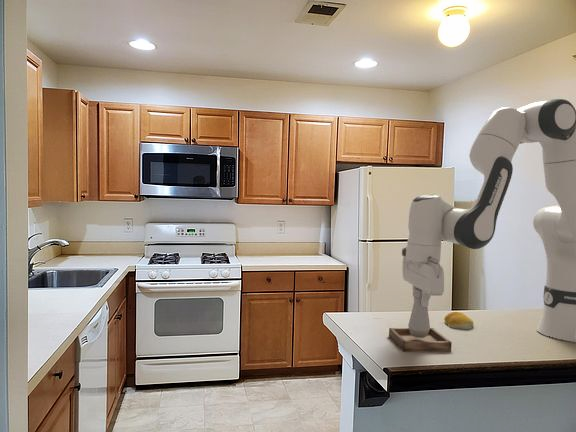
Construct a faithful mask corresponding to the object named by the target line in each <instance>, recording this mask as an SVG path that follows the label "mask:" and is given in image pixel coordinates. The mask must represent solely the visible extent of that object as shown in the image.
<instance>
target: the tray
mask: <svg viewBox="0 0 576 432" xmlns="http://www.w3.org/2000/svg"><path fill="white" fill-rule="evenodd" d="M388 338H390V339H391V340H392V341H393V342H394V343H395V344H396V345H397V346H398V347H399V348H400V350H402V351H403V352H452V343H453V342H452V341H451V340H449V339H448V338H447V337H446V336H444V335H443V334H442V333H440V332H439V331H437V330H436V329H435V328H433V327H430V331H429V333H428V335H427V336H426V337H424V338H419V337H414V336H412V335H411V333H410V331H409V327H389V330H388Z"/></svg>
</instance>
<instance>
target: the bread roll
mask: <svg viewBox="0 0 576 432" xmlns="http://www.w3.org/2000/svg"><path fill="white" fill-rule="evenodd" d="M443 319H444V322H445V324H446V325H447V326H448V327H449V328H453V329H458V330H470V329H472V328H473V327H474V321H473V319H472V318H471V317H468V316H467V315H466V314H465V313H463V312H460V311H451V312H449V313H448V314H446V315H445V316H444V318H443Z"/></svg>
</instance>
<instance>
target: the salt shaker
mask: <svg viewBox="0 0 576 432" xmlns="http://www.w3.org/2000/svg"><path fill="white" fill-rule="evenodd" d="M422 295H423V294H422V290H420V289H419V288H416V289H414V290H413V289H412V297H413V298H414V297H415V300H414V299H413V305H412V310H411V313H410V317H409V321H408V324H407V325H408V327H407V328H409V331H410V333H411V335H412V336H414V337H419V338H424V337H426V336H427V335H428V333H429V331H430V328H431V323H430V318H429V317H430V316H429V308H428V307H423V306H421V305H420V299H422Z"/></svg>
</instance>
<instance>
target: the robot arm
mask: <svg viewBox="0 0 576 432" xmlns="http://www.w3.org/2000/svg"><path fill="white" fill-rule="evenodd" d="M525 143H527V144H528V143H529V144H530V143H531V144H534V143H539V144H540V146H541V147H542V151H541V152H542V163H543V171H544V172H543V173H544V181H545V188H546V189H547V191H548V192H549V193H550V194H551V195H553V197H554V198H555V200H556V201H557V203H558V205H557V204H556V205H549V206H544V207H542V208H540V209H539V210H537V212H536V213H535V214H534V217H533V222H532V224H533V228H534V231H535V232H536V233H537V234H538V236H539V237H540V239H541V241H542V244H543V247H544V252H545V256H546V279H545V280H546V282H545V285H544V289H543V296H542V297H543V308H542V311H541V316H540V320H539V322H538V325H537V327H536V332H538V333H539V334H542V335H544V336H547V337H549V336H550V338H552V337H553V339H556V338H557V339H556V340H561V339H562V340H561V341H567V342H572V343H576V108H575V107H574V105H573V104H572V102H571V101H570V100H567V99H564V98H552V99H548V100H543V101H536V102H531V103H530V104H527V105H525V106H521V107H517V108H513V107H507V106H506V107H505V106H504V107H500V108H498V109H496V110H494V111H493V112H492V114H491V115H490V116H489V118H488V119H487V120H486V121H485V123H484V125H483V126H482V127H481V129H480V131H479V132H478V134H477V136H476V138H475V139H474V141H473V143H472V145H471V147H470V150H469V155H468V156H469V161H470V164H471V165H472V166H473V167H474V169H475V170H477V172H479V173H480V174H482V175H483V176H484V177H483V178H484V179H483V184H482V186H481V188H480V190H479V194H478V195H477V198H476V201H475V203H474V204H473V206H471V207H470V208H467V209H466V208H459V207H456V206H453V205H451V204H450V203H448V202H447V201H445V200H444V199H443V198H442V197H441V196H440V195H438V194H425V195H420V196H416V197H415V198H413V199H412V200H411V203H410V207H409V215H408V232H409V233H408V234H409V235H408V238H407V243H406V244H407V245H406V246H405V247H403V248H402V249H401V256H402V277H403V278H402V279H403V281H405V282H407V283H409V284H410V285H412V287H411V289H412V291H413V290H414V289H416V288H419V289H420V290H422V294H423V295H422V299H420V305H421V306H423V307H428V306H429V302H430V301H429V300H430V299H431V296H434V297H436V296H437V297H438V296H439V297H440V296H443V294H444V292H445V275H444V274H445V273H444V269H443V266H441V264H440V263H441V253H442V241H445V242H448V243H451V244H456V245H460V246H463V247H466V248H468V249H472V250H478V249H479V250H480V249H482V248H484V247H485V246H487V245H488V244H489V243H490V241H491V240H492V239H493V238H494V235H495V231H496V226H497V220H498V215H499V213H500V210H501V209H502V205H503V202H504V200H505V197H506V194H507V191H508V188H509V186H510V182H511V181H512V176H513V172H514V171H513V169H514V167H513V164H512V160H513V157H514V156H515V155H516V152H517V150H518V148H519V145H520V144H525ZM414 300H415V297H413V301H414Z"/></svg>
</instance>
